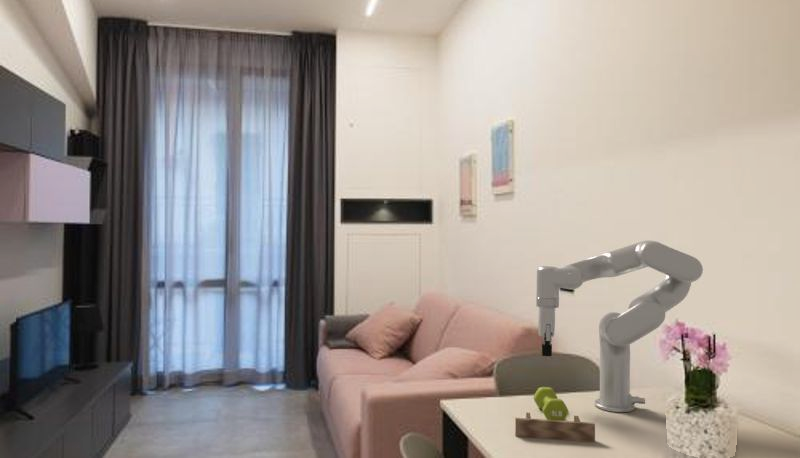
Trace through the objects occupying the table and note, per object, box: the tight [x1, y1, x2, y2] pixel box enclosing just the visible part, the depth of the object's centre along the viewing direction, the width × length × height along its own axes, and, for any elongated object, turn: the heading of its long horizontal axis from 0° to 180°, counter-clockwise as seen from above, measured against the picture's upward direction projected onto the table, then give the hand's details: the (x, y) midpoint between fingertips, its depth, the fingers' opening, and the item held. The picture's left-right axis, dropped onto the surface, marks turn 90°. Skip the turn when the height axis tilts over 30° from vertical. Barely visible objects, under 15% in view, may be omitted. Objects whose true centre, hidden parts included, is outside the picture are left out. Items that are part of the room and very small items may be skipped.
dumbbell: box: [533, 386, 569, 421], centre depth 185 cm, size 16×8×7 cm, turn 178°
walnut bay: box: [514, 412, 596, 443], centre depth 170 cm, size 22×11×5 cm, turn 79°
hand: (546, 355), depth 198 cm, fingers closed
